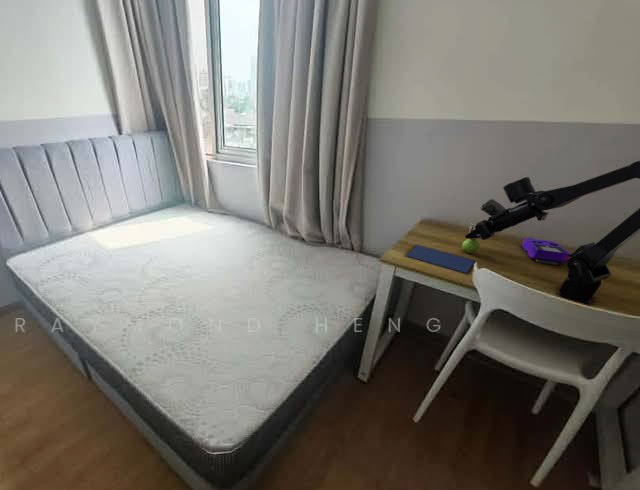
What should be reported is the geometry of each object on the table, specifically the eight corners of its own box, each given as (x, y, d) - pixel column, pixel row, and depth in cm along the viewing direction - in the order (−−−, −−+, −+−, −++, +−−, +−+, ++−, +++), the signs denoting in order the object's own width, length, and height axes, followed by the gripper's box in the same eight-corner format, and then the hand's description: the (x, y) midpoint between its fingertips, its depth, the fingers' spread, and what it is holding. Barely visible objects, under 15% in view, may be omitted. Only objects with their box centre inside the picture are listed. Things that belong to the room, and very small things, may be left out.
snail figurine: (454, 250, 120) (465, 221, 114) (467, 248, 122) (478, 219, 116) (466, 256, 116) (478, 226, 110) (479, 253, 118) (492, 224, 111)
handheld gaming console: (555, 240, 118) (572, 252, 106) (549, 253, 120) (564, 266, 108) (525, 236, 121) (537, 248, 109) (519, 249, 124) (531, 261, 112)
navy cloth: (474, 261, 113) (475, 260, 113) (466, 273, 106) (466, 272, 106) (417, 245, 125) (417, 245, 125) (406, 256, 118) (406, 255, 118)
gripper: (515, 189, 108) (470, 211, 122) (492, 199, 100) (445, 222, 113) (533, 216, 107) (484, 236, 120) (510, 229, 98) (461, 249, 112)
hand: (469, 235), depth 117 cm, fingers closed on snail figurine, 5 cm apart
